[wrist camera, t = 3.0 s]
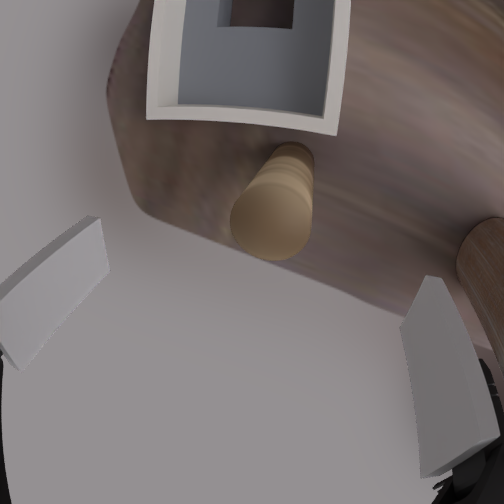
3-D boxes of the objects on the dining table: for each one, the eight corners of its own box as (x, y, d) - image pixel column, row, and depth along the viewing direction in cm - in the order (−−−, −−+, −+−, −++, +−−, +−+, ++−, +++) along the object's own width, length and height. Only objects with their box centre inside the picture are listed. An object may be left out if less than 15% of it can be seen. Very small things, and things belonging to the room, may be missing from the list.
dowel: (273, 138, 25) (232, 180, 13) (317, 145, 24) (317, 193, 13) (269, 179, 27) (228, 253, 15) (310, 186, 26) (303, 266, 15)
